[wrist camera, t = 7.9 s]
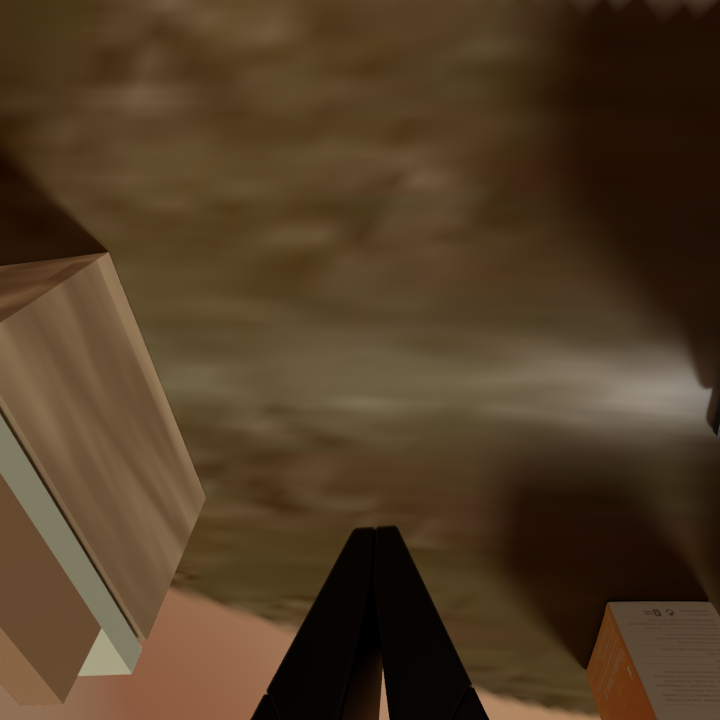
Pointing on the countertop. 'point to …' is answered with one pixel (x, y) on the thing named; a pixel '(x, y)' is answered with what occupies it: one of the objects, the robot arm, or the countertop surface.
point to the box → (97, 425)
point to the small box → (657, 661)
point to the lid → (50, 595)
